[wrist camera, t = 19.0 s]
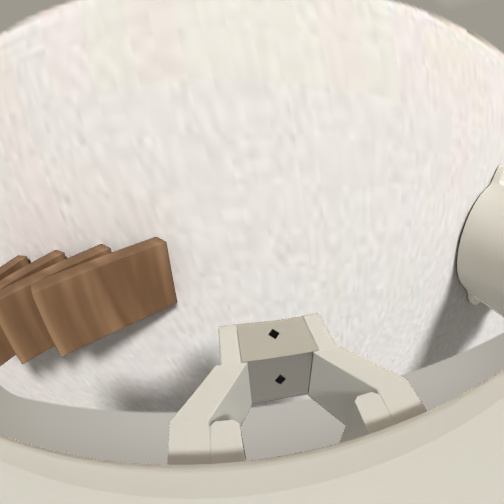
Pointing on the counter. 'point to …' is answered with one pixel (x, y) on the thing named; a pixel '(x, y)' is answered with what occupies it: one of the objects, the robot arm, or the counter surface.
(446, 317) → the counter surface
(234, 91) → the counter surface
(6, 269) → the domino
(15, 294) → the domino
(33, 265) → the domino
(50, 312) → the domino
